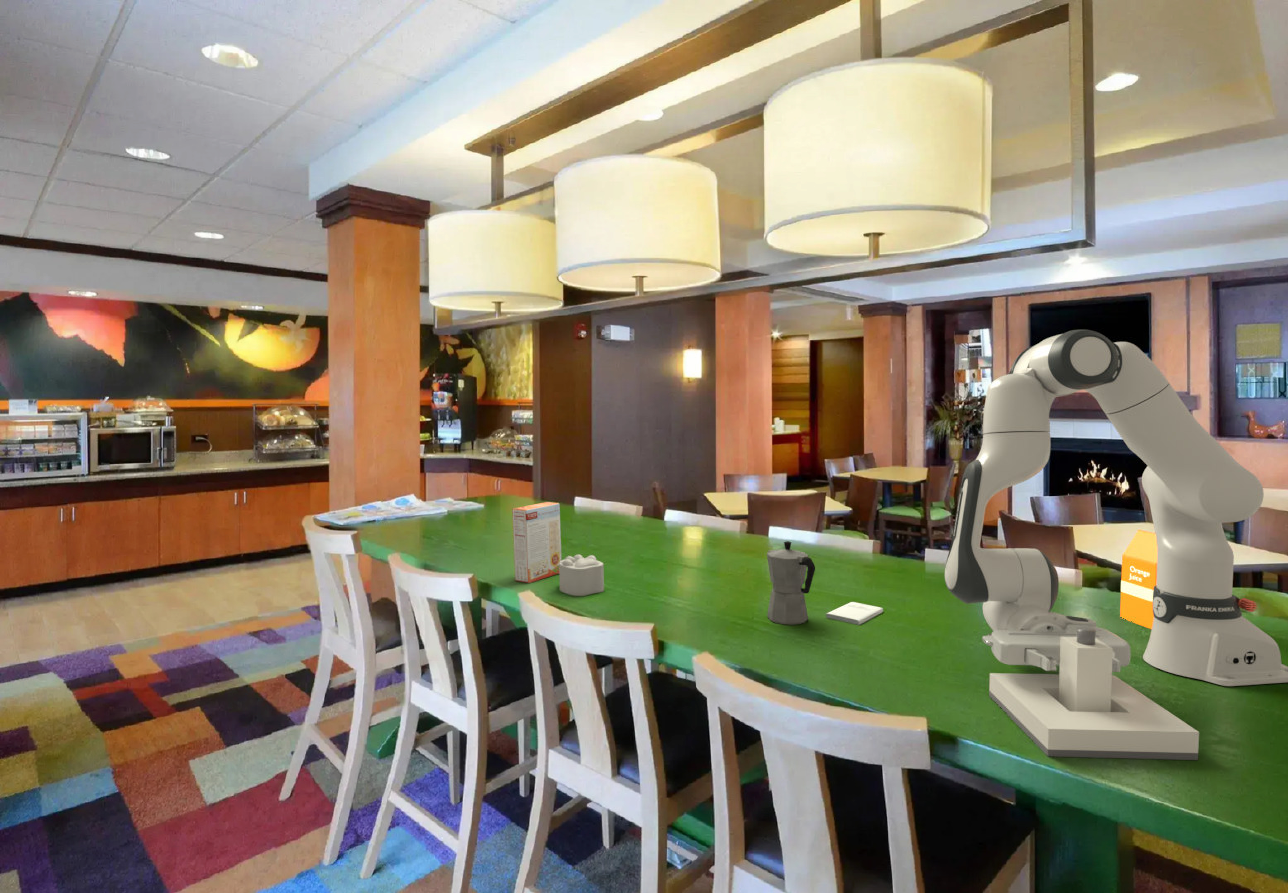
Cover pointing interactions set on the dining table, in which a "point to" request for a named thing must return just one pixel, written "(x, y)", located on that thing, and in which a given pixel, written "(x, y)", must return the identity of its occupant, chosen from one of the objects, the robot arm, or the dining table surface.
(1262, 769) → the dining table surface
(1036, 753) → the dining table surface
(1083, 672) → the plug
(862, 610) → the external hard drive
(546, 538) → the cracker box
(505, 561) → the dining table surface
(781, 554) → the coffeepot
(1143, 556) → the orange juice
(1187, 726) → the socket block
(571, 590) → the lumpy-topped squat cylinder
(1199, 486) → the robot arm
